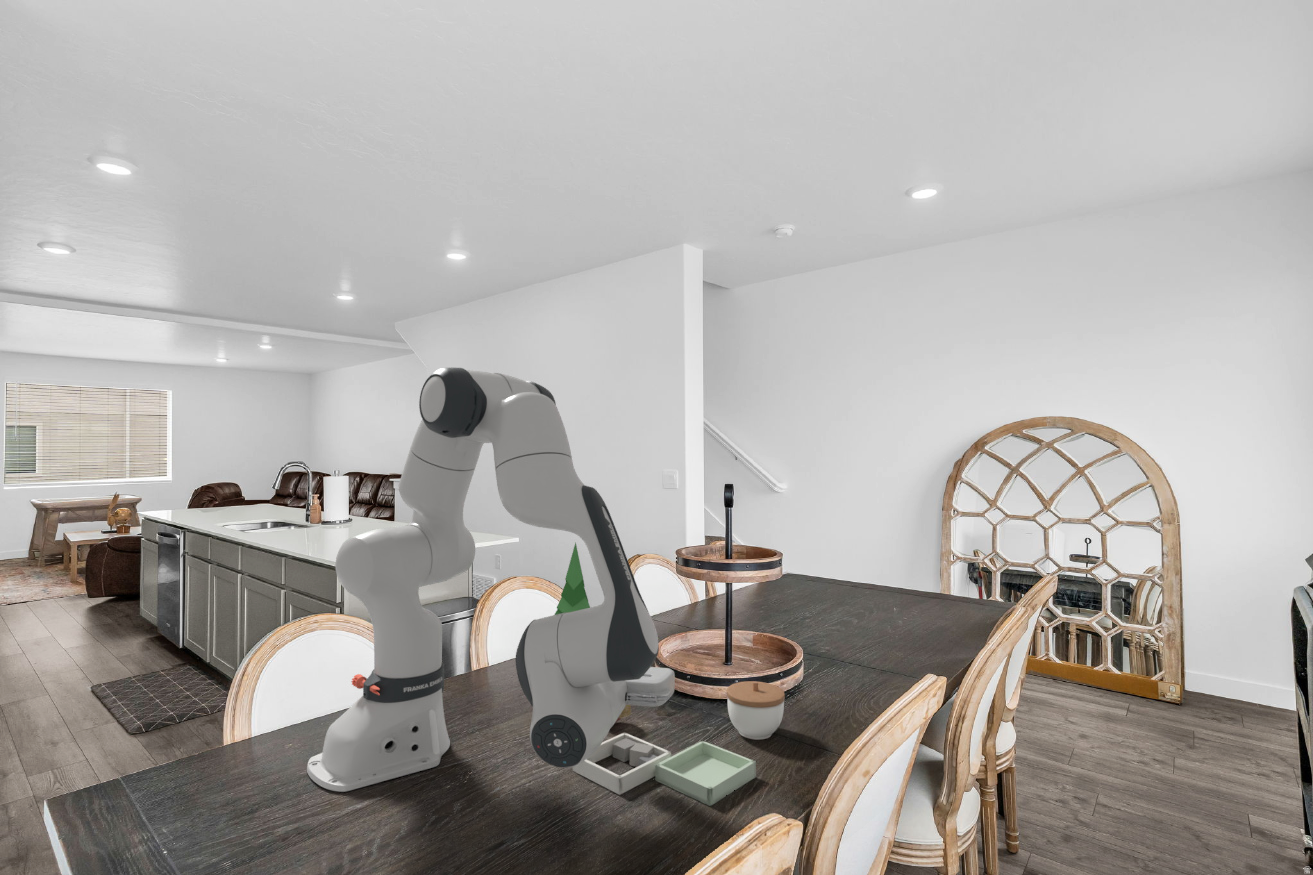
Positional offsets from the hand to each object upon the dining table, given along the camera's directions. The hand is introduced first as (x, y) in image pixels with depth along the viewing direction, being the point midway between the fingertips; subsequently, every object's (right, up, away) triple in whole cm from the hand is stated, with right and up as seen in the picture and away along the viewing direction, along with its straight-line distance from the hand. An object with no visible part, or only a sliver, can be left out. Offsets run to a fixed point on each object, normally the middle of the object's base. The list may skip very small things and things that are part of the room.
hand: (620, 664), depth 108 cm
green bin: (+14, -17, -2) cm, 22 cm away
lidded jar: (+24, -18, +15) cm, 34 cm away
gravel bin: (0, -17, +1) cm, 17 cm away
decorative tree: (-14, -18, +52) cm, 56 cm away
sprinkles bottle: (0, -8, -1) cm, 8 cm away
